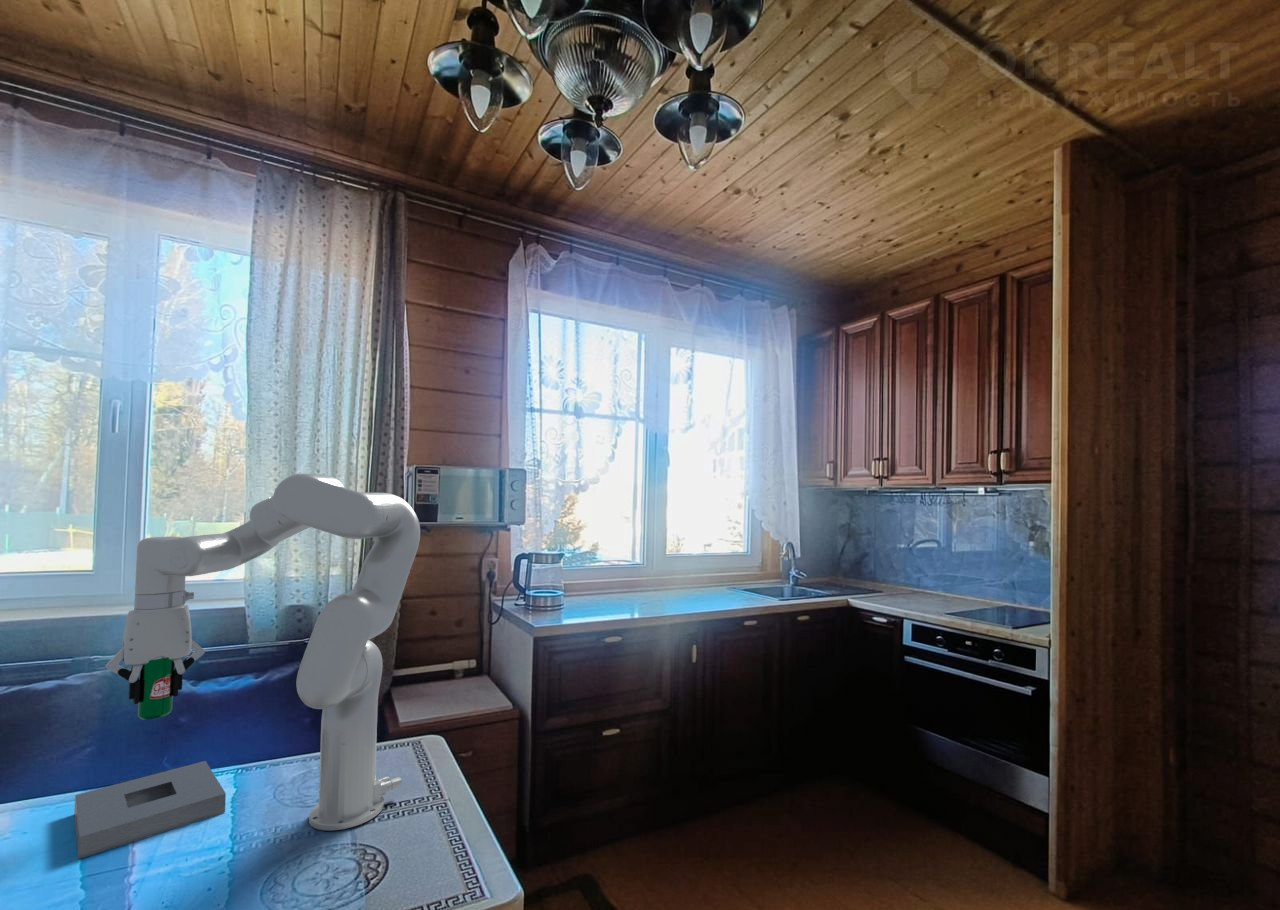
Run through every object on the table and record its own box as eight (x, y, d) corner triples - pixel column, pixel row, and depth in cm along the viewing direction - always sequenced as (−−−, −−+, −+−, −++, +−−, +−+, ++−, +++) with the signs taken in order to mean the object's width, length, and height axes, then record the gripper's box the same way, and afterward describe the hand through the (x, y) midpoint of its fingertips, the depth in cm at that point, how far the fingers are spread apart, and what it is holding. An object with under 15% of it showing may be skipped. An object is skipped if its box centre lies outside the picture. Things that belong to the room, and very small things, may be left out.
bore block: (204, 777, 125) (205, 760, 125) (224, 812, 111) (225, 793, 111) (74, 814, 111) (75, 795, 111) (78, 859, 97) (79, 837, 97)
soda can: (152, 721, 109) (155, 655, 110) (130, 720, 110) (133, 654, 111) (178, 711, 114) (181, 648, 115) (157, 710, 115) (160, 647, 116)
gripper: (210, 593, 123) (206, 683, 121) (98, 605, 110) (93, 705, 109) (217, 597, 117) (214, 692, 116) (101, 610, 105) (96, 715, 104)
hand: (155, 697), depth 113 cm, fingers closed on soda can, 5 cm apart
